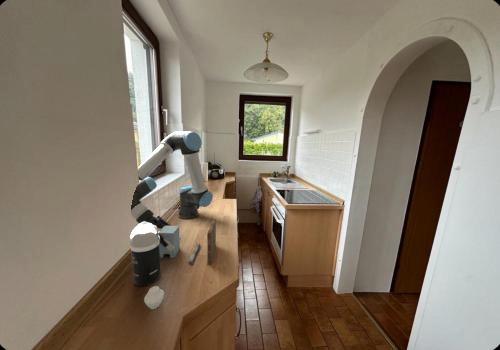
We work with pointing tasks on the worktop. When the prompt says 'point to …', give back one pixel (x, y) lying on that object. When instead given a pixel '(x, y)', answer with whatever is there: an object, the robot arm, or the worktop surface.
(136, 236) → the black white bottle
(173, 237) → the mini cabinet
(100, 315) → the worktop surface
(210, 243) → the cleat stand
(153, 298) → the white rock
